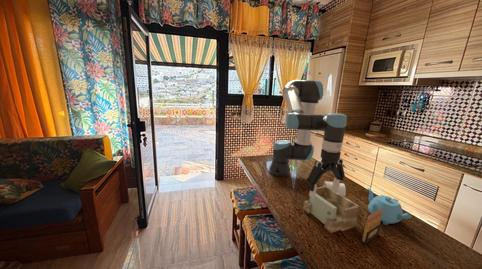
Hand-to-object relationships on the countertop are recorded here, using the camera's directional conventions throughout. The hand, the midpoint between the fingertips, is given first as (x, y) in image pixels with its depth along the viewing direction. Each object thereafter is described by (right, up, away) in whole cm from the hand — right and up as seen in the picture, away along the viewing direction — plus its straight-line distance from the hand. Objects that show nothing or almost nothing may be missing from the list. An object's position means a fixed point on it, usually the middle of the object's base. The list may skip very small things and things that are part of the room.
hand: (323, 194), depth 86 cm
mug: (+16, -8, +25) cm, 31 cm away
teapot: (+30, -13, +5) cm, 33 cm away
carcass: (+4, -12, +4) cm, 13 cm away
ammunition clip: (+16, -16, -8) cm, 23 cm away
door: (-1, -12, +3) cm, 13 cm away
